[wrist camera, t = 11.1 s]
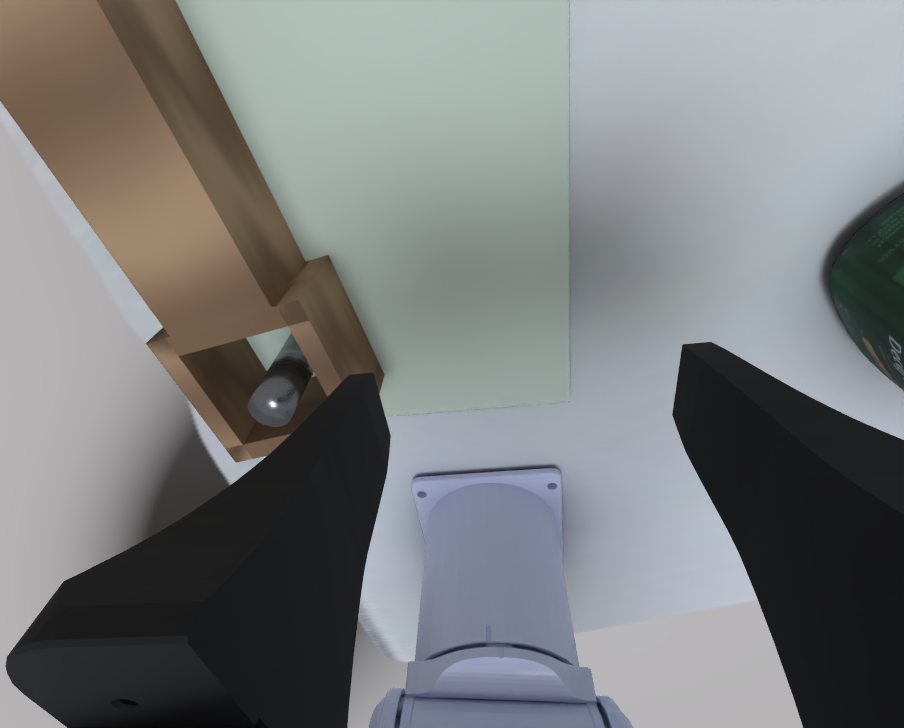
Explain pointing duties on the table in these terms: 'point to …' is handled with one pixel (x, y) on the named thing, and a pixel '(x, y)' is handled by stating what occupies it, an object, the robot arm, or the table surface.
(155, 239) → the link
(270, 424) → the cylinder
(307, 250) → the board
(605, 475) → the table surface
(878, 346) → the coffee jar
